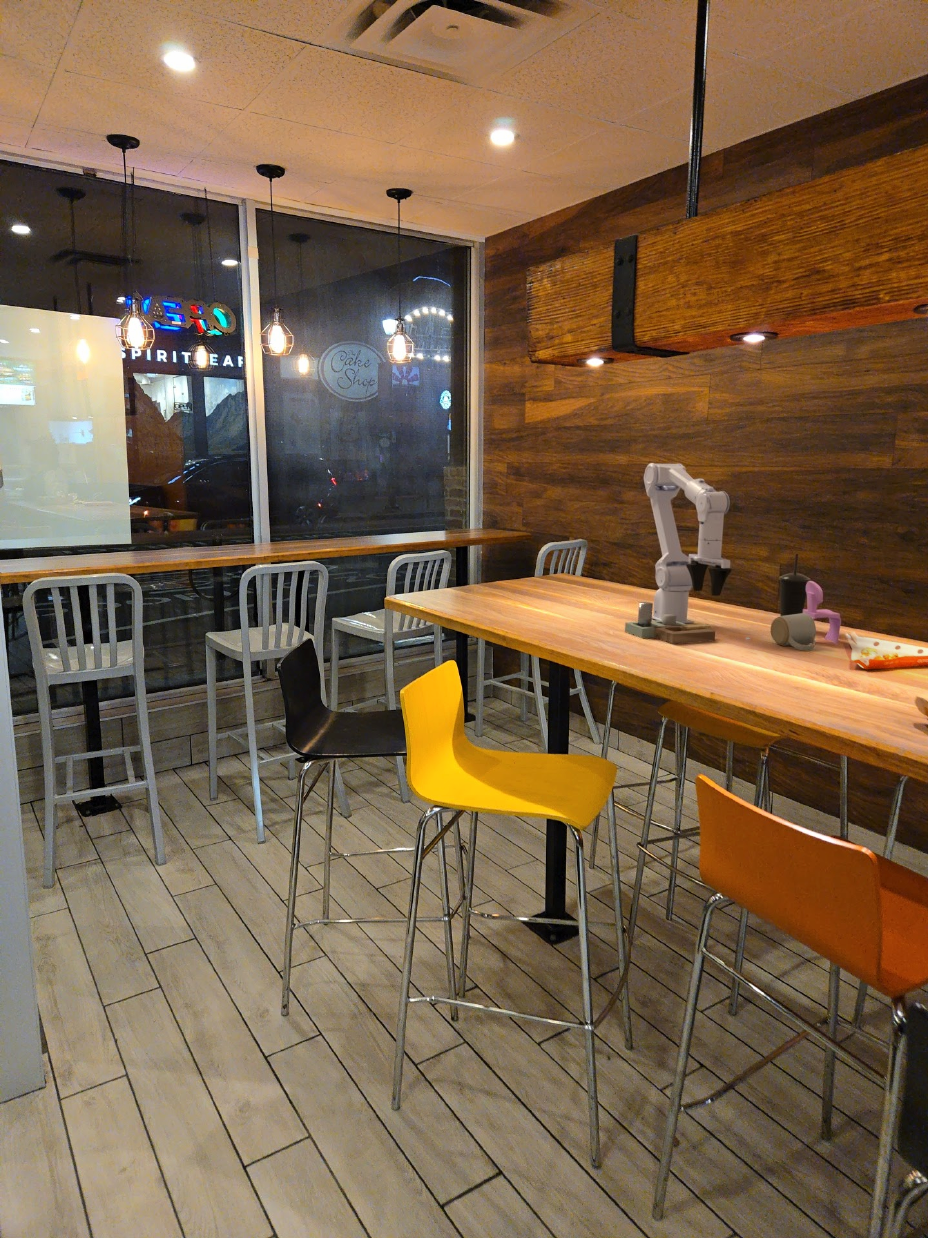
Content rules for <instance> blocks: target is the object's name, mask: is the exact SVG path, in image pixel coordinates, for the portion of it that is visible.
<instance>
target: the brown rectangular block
mask: <svg viewBox="0 0 928 1238" xmlns="http://www.w3.org/2000/svg"><path fill="white" fill-rule="evenodd" d="M695 629H710V630H712V628H711V625H710V624H707V623H700V624H695V625H683V626H682V631H688V630H695Z"/></svg>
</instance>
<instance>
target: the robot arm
mask: <svg viewBox="0 0 928 1238" xmlns="http://www.w3.org/2000/svg"><path fill="white" fill-rule="evenodd" d="M686 468H687V467H686V466H684V465H683V464H682V463H654V462H650V463H649V464H647V466H646V467H645V469H644V470H645V471H644V475H643V482H644V487H645V491H646V495H647V497H648V498H650V500H649V501H650V505H651V509H652V512H653V513H652V515H653V518H654V523H655V526H656V532H657V537H658V541H659V546H660V550H661V555H662V556H661V557H660V559H659V560H657V562H656V563H655V566H654V567H655V576H654V577H655V582H656V585H657V586H658V588H659V589H657V590H656V591H655V593H654V598H653V610H652V620H654V621H658V620H663V614H673V615H676V621H677V622H681V623H684V624H694V620H692V619H688V612H689V611H688V608H689V595H690V594H689V593H690V591H692V588H693V591H694V592H702V590H703V587H704V581H705V577H706V576H705V575H706V572H707V570H708V572H709V577H710V586H711V587H710V590H711V591H710V593H711V596H713V597H714V596H715V597H716V596H721V594H722V591H723V588H724V585H725V582H726V580H727V579H728V577H729V575H730V573H732V568H731V560H730V559H726V558H723V557H722V546H723V534H724V532H723V531H724V520H725V519H724V517H725V515H726V514H727V513H728V511H729V509H730V504H731V503H730V502H731V501H730V497H729V495H728V493H727V492H726V491H724V490H720V491H717V490H716V489H715V488H714V487H713V486H710V485H708V483H706V482H705V479H703V478H693V477H692V476H691V475H690V474H689V473H688V472H687V470H686ZM680 490H683V491H684V496H685V498H686V499H688V500H689V501H691V502H692V503H693V504H694V505H695V508H696V512H697V520H698V521H699V529H698V541H697V543H698V545H697V554H696V553H689V554H688V555H686V554H685V553H683V552H682V548H681V543H680V538H679V534H678V529H677V525H676V521H675V515H674V511H673V508H672V507H673V505H672V503H671V502H672V499H673V498H675V497H677V495H678V493H679V492H680ZM710 566H711V567H710ZM712 566H713V567H712Z"/></svg>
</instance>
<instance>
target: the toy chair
mask: <svg viewBox="0 0 928 1238" xmlns="http://www.w3.org/2000/svg"><path fill="white" fill-rule="evenodd" d="M806 593H807V594H806V603H807V604H806V605H807V606H806V607H807V608H804V609H803V613H807V614H809V615H810V616H811V617H812V619H813V620H814V621H815V620H816V619H822V618H828V620H829V628H828V631H827V633H826V635H825V636H824V639H825V640H827V641H829V642H832V643H834V644H839V638H840V629H841V625H842V619H841V614H840V613H839V612H834V611H832V610H830V609H825V608H824V609H818V608H817V607H818V606H819V604H822V603H823V601H824V600H823V599H824V591H823V590H822V587H821V586H820V585H819V584H818V583H816V582H815V581H813V580H810V581H808V582H807V584H806Z"/></svg>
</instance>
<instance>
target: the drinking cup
mask: <svg viewBox="0 0 928 1238" xmlns="http://www.w3.org/2000/svg"><path fill="white" fill-rule="evenodd" d="M794 556H795V557H794V568H793V572H792V573H791V572H790V573H786V574H783V575H781V576H778V577H779V578H778V580H779V581H780V583H779V585H780V586H779V590H780V591H779V595H780V597H779V601H780V602H779V603H780V604H779V605H780V607H779V608H780V609H779V611H780V613H779V614H780V615H779V617H780V616H785V615H793V614H800V613H803V609H805V604H806V601H807V593H806V584H807V582H808V581H811V578H810V577H807V576H806V575H804V574H803V573H799V572H797V571H798V561H799V553H795V555H794Z"/></svg>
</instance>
